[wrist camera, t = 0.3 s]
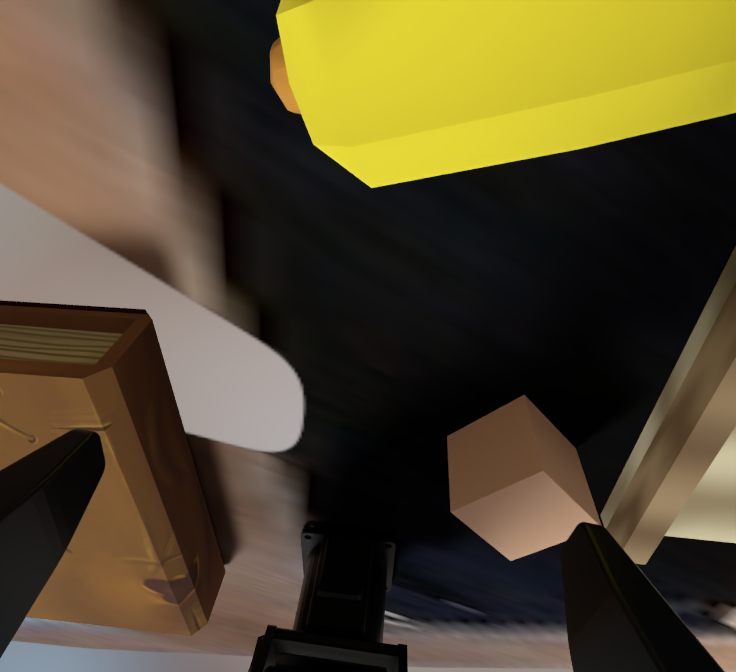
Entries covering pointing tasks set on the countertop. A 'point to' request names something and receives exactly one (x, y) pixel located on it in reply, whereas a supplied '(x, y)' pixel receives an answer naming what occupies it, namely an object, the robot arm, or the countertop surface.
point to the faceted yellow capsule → (496, 77)
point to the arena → (686, 443)
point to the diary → (112, 466)
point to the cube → (517, 480)
